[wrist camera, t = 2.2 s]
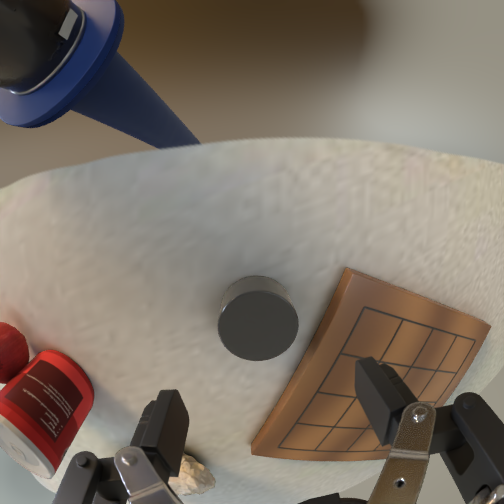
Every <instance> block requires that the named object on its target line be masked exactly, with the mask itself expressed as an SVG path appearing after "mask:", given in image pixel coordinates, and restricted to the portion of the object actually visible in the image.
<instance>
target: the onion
mask: <svg viewBox="0 0 504 504" xmlns="http://www.w3.org/2000/svg"><path fill="white" fill-rule="evenodd" d="M28 362H29V350H28V345H27V342H26V339H25V337H24V335H22V334H21V333H20V332H19V331H18V330H17V329H16V328H15V327H13V326H11V325H9V324H7V323H4V322H0V383H2V384H7V383H8V382H9V381H10V380H11V379H12V378H13V377H14V376H16V375H17V374H18V373H19V372H20V371H21V370H22V369H23V368H24V367H25V366H26V365H27V364H28Z"/></svg>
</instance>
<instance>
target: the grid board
mask: <svg viewBox="0 0 504 504" xmlns="http://www.w3.org/2000/svg"><path fill="white" fill-rule="evenodd" d="M490 328H491V325H489V324H487V323H486V322H484V321H482V320H480V319H477V318H475V317H473V316H470V315H468V314H465V313H463V312H460V311H458V310H455V309H453V308H450V307H448V306H445V305H443V304H440V303H438V302H435V301H433V300H430V299H428V298H425V297H423V296H420V295H418V294H415V293H412V292H410V291H407V290H405V289H402V288H400V287H397V286H394V285H392V284H389V283H387V282H384V281H381V280H379V279H376V278H373V277H371V276H368V275H366V274H363V273H360V272H358V271H355V270H352V269H350V268H346V269H345V271H344V273H343V276H342V278H341V280H340V282H339V285H338V287H337V289H336V291H335V294H334V296H333V298H332V300H331V302H330V304H329V307H328V309H327V311H326V313H325V315H324V317H323V319H322V321H321V323H320V325H319V327H318V329H317V331H316V333H315V335H314V337H313V339H312V341H311V343H310V345H309V347H308V349H307V351H306V353H305V355H304V357H303V358H302V360H301V362H300V364H299V366H298V368H297V369H296V371H295V373H294V375H293V377H292V378H291V380H290V382H289V384H288V386H287V387H286V389H285V391H284V392H283V394H282V396H281V398H280V399H279V401H278V403H277V404H276V406H275V408H274V409H273V411H272V412H271V414H270V416H269V417H268V419H267V421H266V422H265V424H264V425H263V427H262V428H261V430H260V432H259V433H258V435H257V436H256V438H255V439H254V441H253V442H252V444H251V454H252V455H257V456H264V457H272V458H281V459H293V460H308V461H362V460H377V459H387V457H388V454H389V452H390V450H391V445H390V444H388V445H386V446H383V447H382V446H381V444H380V442H379V440H378V438H377V436H376V434H375V432H374V430H373V428H372V426H371V424H370V422H369V420H368V418H367V416H366V414H365V412H364V410H363V408H362V406H361V404H360V402H359V400H358V398H357V396H356V393H355V386H354V384H355V362H356V360H360V359H363V358H367V357H370V356H372V357H373V358H374V359H375V360H376V362H377V363H378V364H379V365H380V364H383V363H385V364H387V365H389V366H391V367H392V368H394V370H395V371H396V372H397V373H398V375H399V376H400V377H401V378H402V380H403V382H405V384H406V385H407V386H408V387H409V389H410V390H411V391H412V393H413V394H414V395H415V397H416V398H417V399H418V401H419V402H426V403H429V404H431V405H432V406H433V407H434V408H437V407H442V406H443V405H444V404H445V402H446V401H447V400H448V398H449V397H450V395H451V394H452V393H453V391H454V390H455V388H456V387H457V385H458V384H459V382H460V381H461V379H462V378H463V376H464V375H465V373H466V372H467V370H468V368H469V367H470V365H471V363H472V362H473V360H474V358H475V357H476V355H477V353H478V351H479V349H480V348H481V346H482V344H483V342H484V340H485V338H486V336H487V334H488V332H489V330H490Z"/></svg>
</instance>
